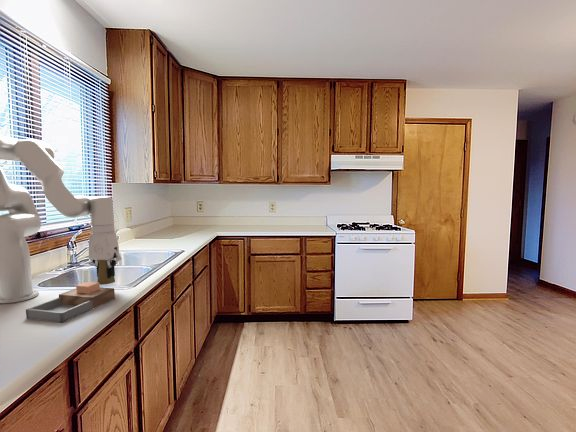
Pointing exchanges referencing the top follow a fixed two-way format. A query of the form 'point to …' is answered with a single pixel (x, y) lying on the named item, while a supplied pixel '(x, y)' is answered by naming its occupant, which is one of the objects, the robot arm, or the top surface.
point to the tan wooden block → (88, 297)
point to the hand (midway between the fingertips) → (106, 276)
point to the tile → (87, 287)
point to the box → (57, 311)
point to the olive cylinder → (104, 273)
